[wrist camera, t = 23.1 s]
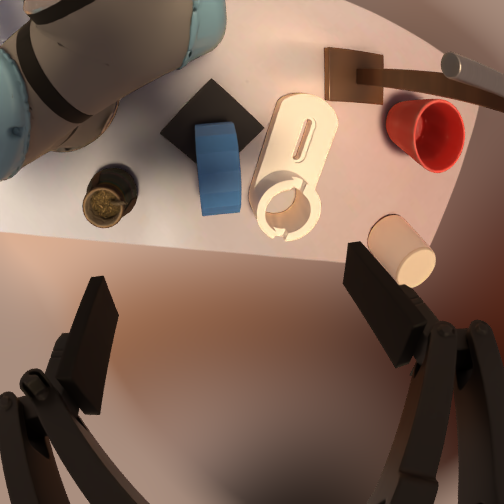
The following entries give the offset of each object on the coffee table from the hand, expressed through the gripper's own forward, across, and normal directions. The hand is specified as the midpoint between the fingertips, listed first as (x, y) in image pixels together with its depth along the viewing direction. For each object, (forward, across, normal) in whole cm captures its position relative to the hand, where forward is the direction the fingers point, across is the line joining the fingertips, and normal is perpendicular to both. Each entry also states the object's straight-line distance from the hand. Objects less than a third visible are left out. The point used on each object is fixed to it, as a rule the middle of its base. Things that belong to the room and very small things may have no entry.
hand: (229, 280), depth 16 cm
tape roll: (+23, +1, -1) cm, 23 cm away
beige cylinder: (+19, +31, -19) cm, 41 cm away
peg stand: (+29, +18, +11) cm, 36 cm away
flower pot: (+30, +31, +4) cm, 43 cm away
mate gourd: (+30, -14, -3) cm, 33 cm away
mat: (+29, +1, +4) cm, 30 cm away
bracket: (+30, +12, -2) cm, 32 cm away
